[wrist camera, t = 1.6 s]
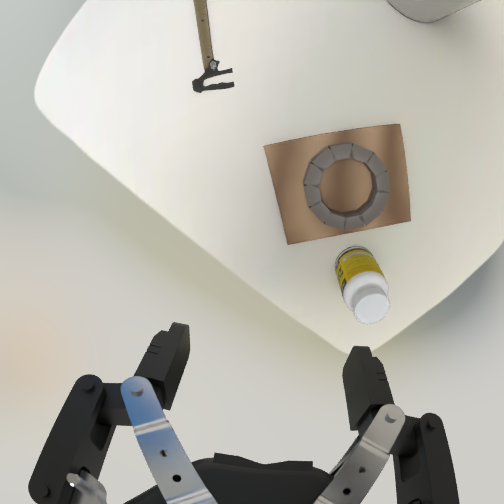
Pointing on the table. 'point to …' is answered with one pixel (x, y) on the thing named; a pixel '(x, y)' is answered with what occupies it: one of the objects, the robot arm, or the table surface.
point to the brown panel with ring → (340, 182)
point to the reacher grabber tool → (207, 51)
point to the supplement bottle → (362, 285)
